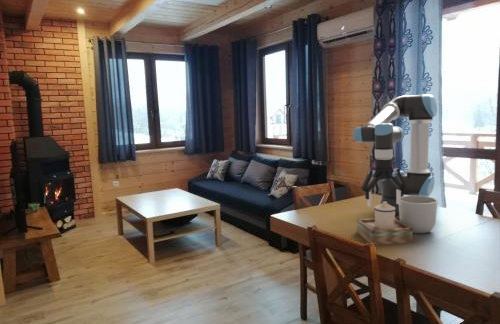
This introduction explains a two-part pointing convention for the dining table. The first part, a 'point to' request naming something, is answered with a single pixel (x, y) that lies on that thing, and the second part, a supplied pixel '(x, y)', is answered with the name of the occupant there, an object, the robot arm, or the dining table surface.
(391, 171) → the robot arm
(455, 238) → the dining table surface
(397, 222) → the brown wooden box
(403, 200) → the planter
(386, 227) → the teacup with lid
